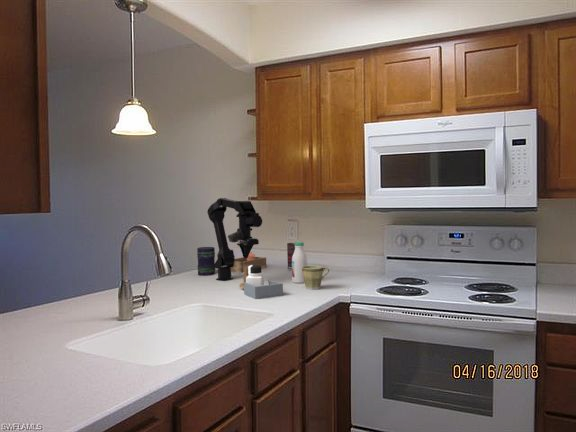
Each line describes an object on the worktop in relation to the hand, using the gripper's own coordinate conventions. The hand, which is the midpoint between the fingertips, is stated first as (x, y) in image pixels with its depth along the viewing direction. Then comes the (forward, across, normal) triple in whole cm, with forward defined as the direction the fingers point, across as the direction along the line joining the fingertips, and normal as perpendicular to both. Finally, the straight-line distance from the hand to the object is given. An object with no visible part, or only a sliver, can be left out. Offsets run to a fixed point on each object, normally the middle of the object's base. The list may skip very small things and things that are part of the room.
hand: (245, 257), depth 225 cm
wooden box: (+13, -42, +20) cm, 49 cm away
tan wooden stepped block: (+13, +11, -4) cm, 17 cm away
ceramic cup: (+13, +28, +23) cm, 39 cm away
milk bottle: (+13, +11, +25) cm, 30 cm away
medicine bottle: (+13, +18, -4) cm, 23 cm away
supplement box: (+13, -22, +42) cm, 49 cm away
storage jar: (+13, -39, -6) cm, 42 cm away
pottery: (+14, -42, +20) cm, 49 cm away
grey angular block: (+13, +26, -4) cm, 29 cm away
